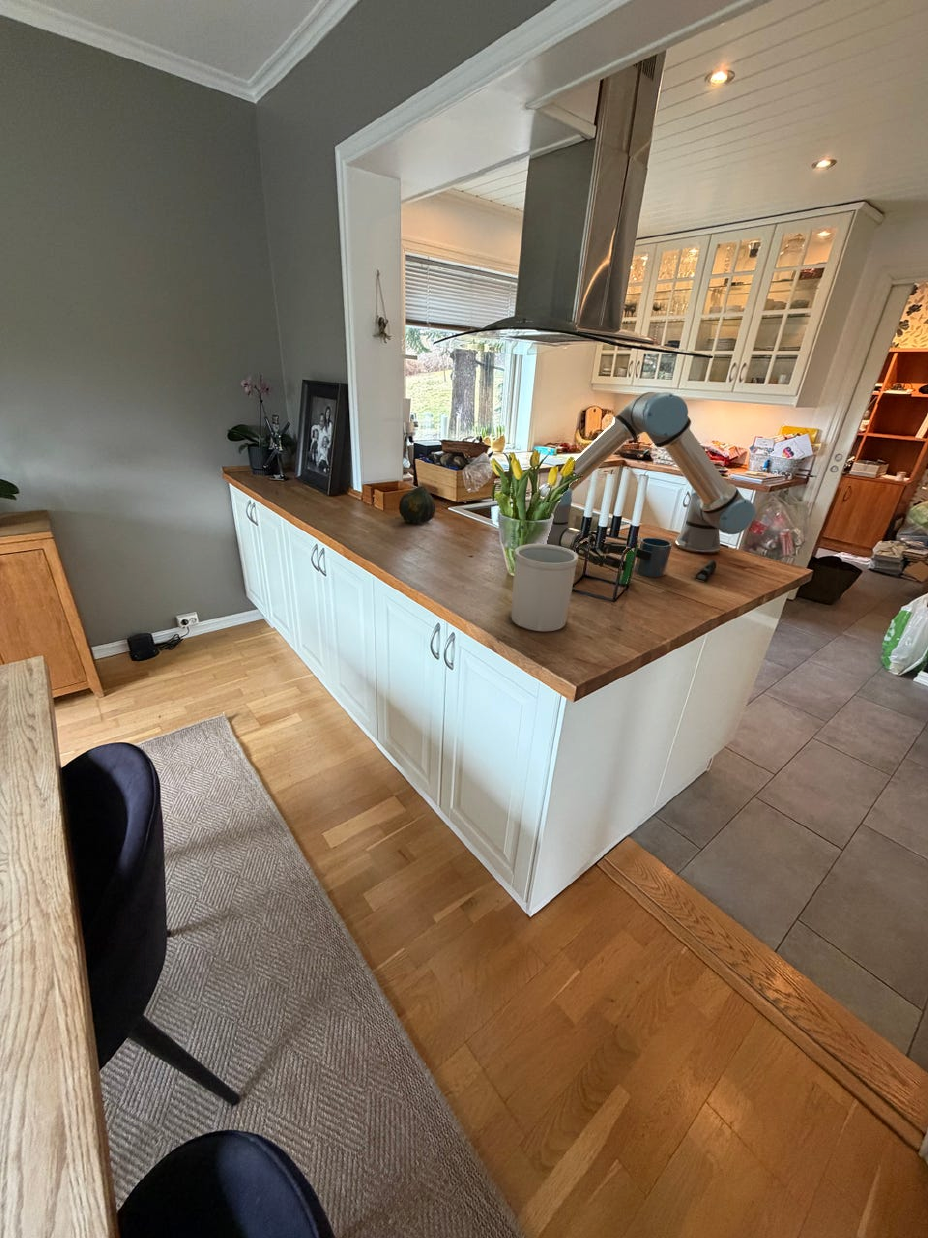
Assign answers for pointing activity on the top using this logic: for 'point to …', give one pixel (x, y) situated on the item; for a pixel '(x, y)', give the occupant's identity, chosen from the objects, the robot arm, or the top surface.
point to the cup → (654, 557)
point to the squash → (417, 505)
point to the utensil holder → (542, 586)
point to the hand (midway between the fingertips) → (638, 561)
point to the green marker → (629, 564)
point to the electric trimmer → (706, 572)
